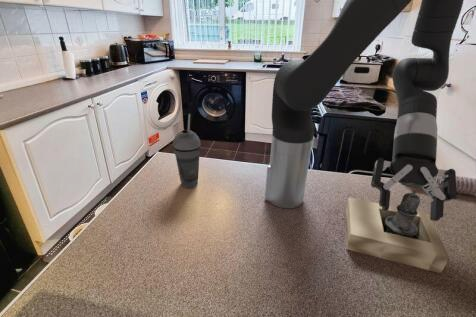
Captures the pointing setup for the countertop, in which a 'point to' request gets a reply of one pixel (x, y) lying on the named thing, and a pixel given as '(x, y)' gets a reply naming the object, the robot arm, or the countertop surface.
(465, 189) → the coil
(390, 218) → the grey tall knobbed piece
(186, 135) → the beverage cup
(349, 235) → the jig
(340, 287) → the countertop surface
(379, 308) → the countertop surface
